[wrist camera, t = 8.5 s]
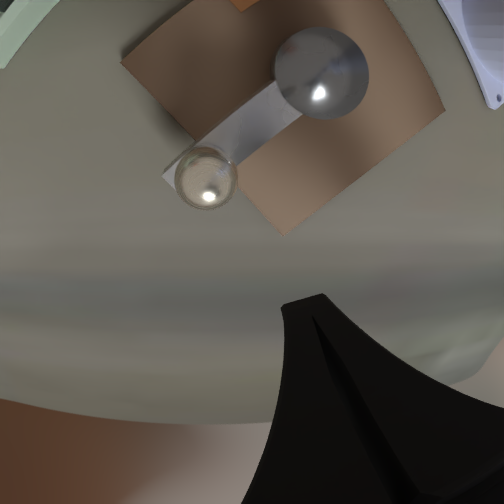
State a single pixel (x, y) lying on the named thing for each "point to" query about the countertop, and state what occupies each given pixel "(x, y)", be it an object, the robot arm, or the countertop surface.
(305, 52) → the crank
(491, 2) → the robot arm
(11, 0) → the block
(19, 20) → the tray
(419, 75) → the crank base
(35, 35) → the countertop surface
